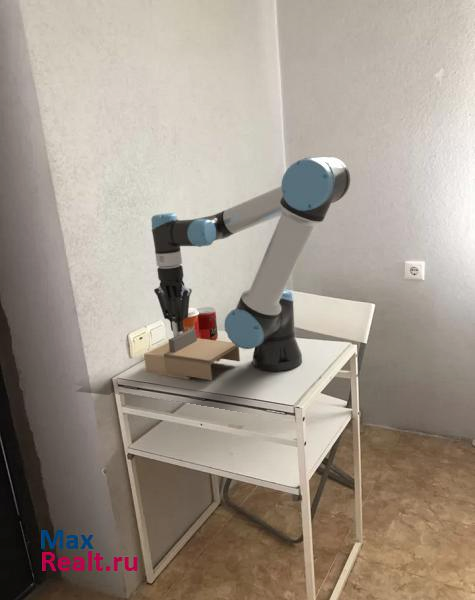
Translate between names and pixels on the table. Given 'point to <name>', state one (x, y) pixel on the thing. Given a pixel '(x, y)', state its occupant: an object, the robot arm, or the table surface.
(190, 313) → the paper cup
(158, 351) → the box
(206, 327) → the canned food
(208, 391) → the table surface
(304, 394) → the table surface
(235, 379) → the table surface
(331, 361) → the table surface
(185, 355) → the box lid
